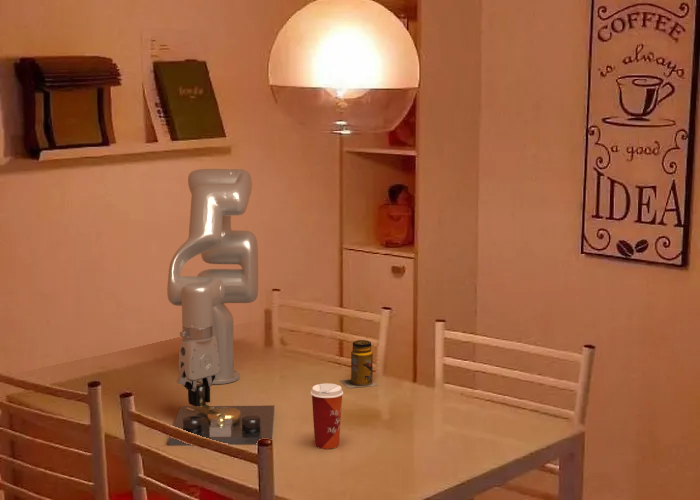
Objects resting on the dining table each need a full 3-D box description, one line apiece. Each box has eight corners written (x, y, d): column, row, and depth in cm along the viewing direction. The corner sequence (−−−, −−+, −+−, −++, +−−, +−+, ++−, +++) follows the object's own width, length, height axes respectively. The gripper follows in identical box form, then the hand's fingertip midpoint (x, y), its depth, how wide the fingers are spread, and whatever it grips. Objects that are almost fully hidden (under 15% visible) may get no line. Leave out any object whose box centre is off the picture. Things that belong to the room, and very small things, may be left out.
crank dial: (247, 420, 256) (246, 394, 255) (220, 427, 250) (220, 401, 249) (209, 405, 267) (208, 381, 266) (183, 412, 261) (182, 387, 260)
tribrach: (180, 412, 267) (180, 391, 266) (274, 411, 268) (274, 390, 268) (168, 445, 244) (168, 422, 243) (271, 444, 245) (271, 421, 244)
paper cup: (339, 451, 240) (339, 393, 238) (307, 449, 241) (306, 391, 239) (346, 440, 247) (346, 383, 245) (315, 438, 249) (314, 381, 247)
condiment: (377, 385, 291) (377, 344, 289) (348, 388, 288) (348, 346, 286) (368, 378, 298) (368, 337, 296) (340, 381, 295) (340, 340, 293)
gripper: (181, 341, 251) (183, 414, 254) (232, 329, 263) (233, 398, 266) (161, 336, 256) (164, 407, 259) (213, 324, 268) (214, 392, 271)
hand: (199, 402), depth 263 cm, fingers closed on crank dial, 3 cm apart
